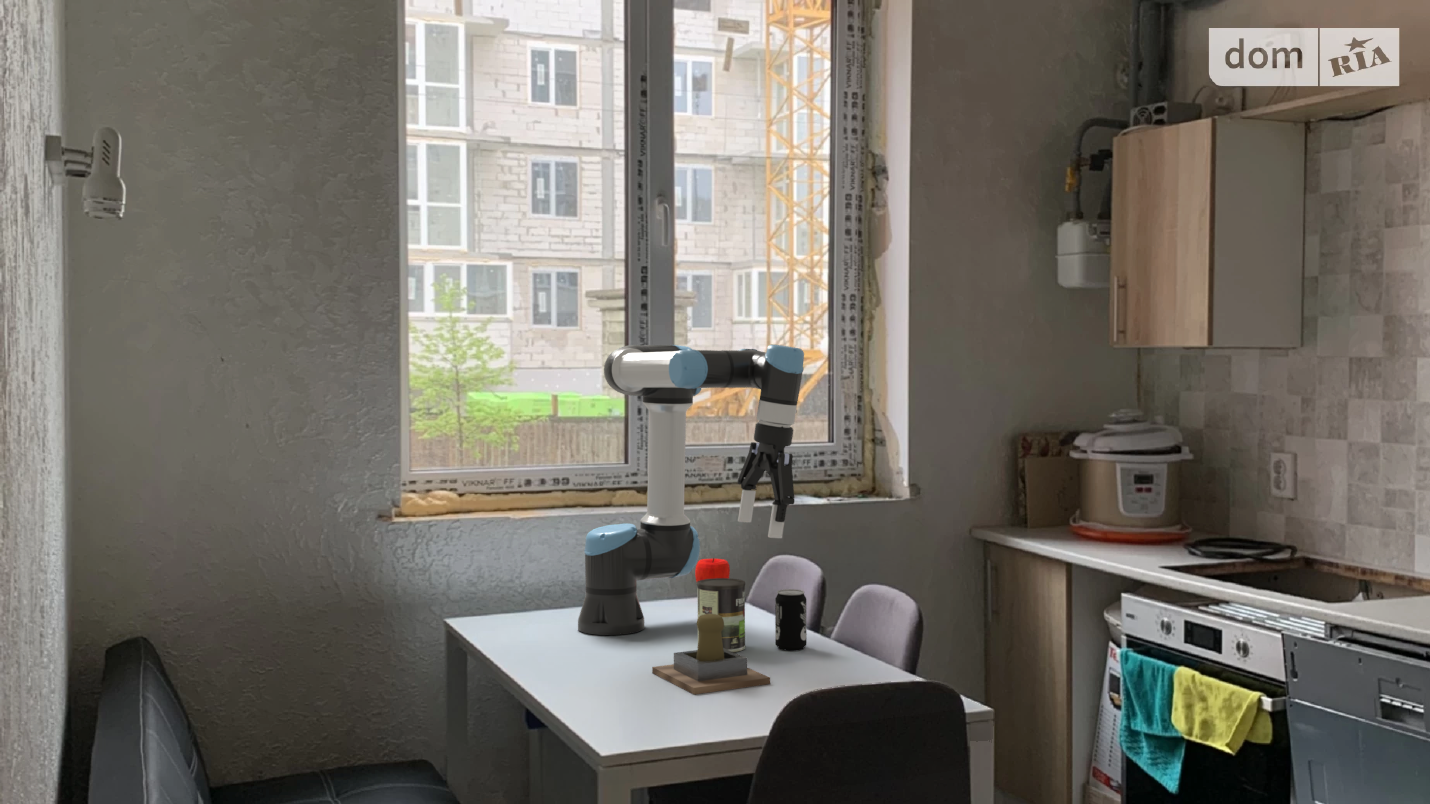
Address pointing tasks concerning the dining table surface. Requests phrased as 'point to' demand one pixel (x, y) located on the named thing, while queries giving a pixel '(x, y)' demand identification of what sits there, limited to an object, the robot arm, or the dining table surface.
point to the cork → (710, 637)
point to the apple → (712, 569)
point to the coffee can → (725, 608)
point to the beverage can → (790, 620)
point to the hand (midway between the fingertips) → (759, 529)
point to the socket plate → (710, 673)
